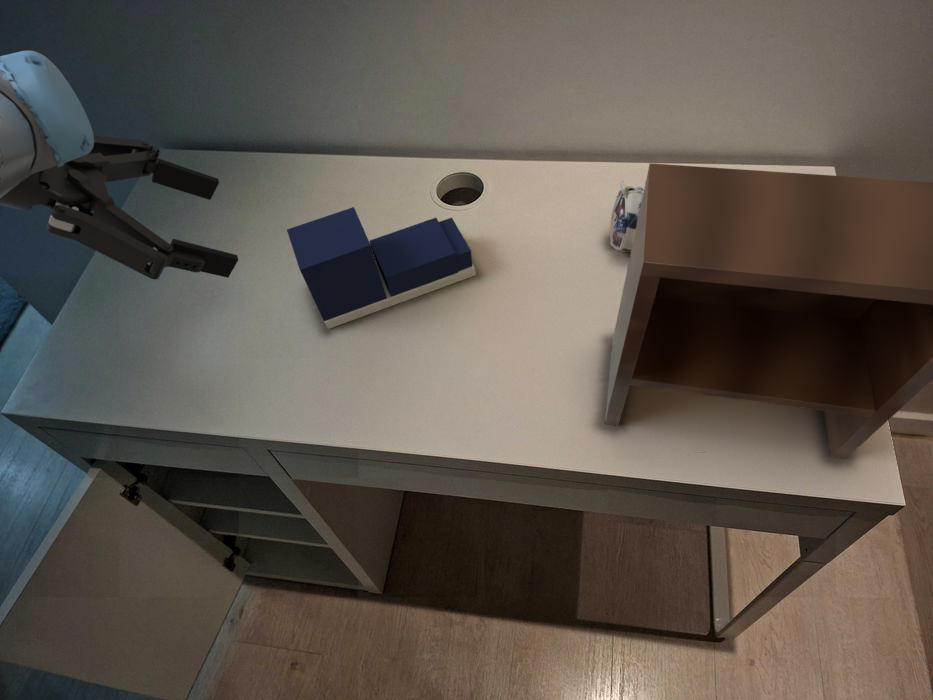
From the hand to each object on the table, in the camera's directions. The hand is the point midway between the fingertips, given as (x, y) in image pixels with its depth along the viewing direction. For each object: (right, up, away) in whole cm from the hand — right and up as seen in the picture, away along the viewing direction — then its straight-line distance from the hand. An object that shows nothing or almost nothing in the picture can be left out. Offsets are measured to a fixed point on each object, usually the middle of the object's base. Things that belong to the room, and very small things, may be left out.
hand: (223, 226), depth 67 cm
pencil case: (+59, +1, +17) cm, 61 cm away
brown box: (+58, -19, +3) cm, 61 cm away
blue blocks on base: (+17, -4, +18) cm, 25 cm away
